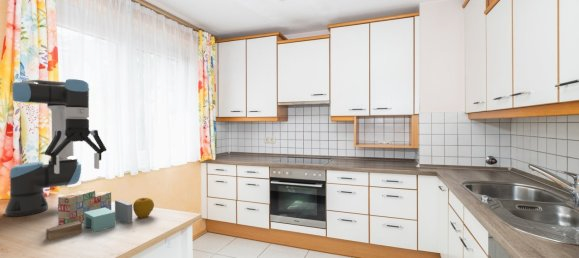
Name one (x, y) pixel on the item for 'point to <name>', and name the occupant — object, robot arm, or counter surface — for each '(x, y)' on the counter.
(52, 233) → the brown wooden bar
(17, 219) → the counter surface
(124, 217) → the wall
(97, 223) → the block
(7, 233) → the counter surface
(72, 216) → the stack of blocks
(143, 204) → the apple
